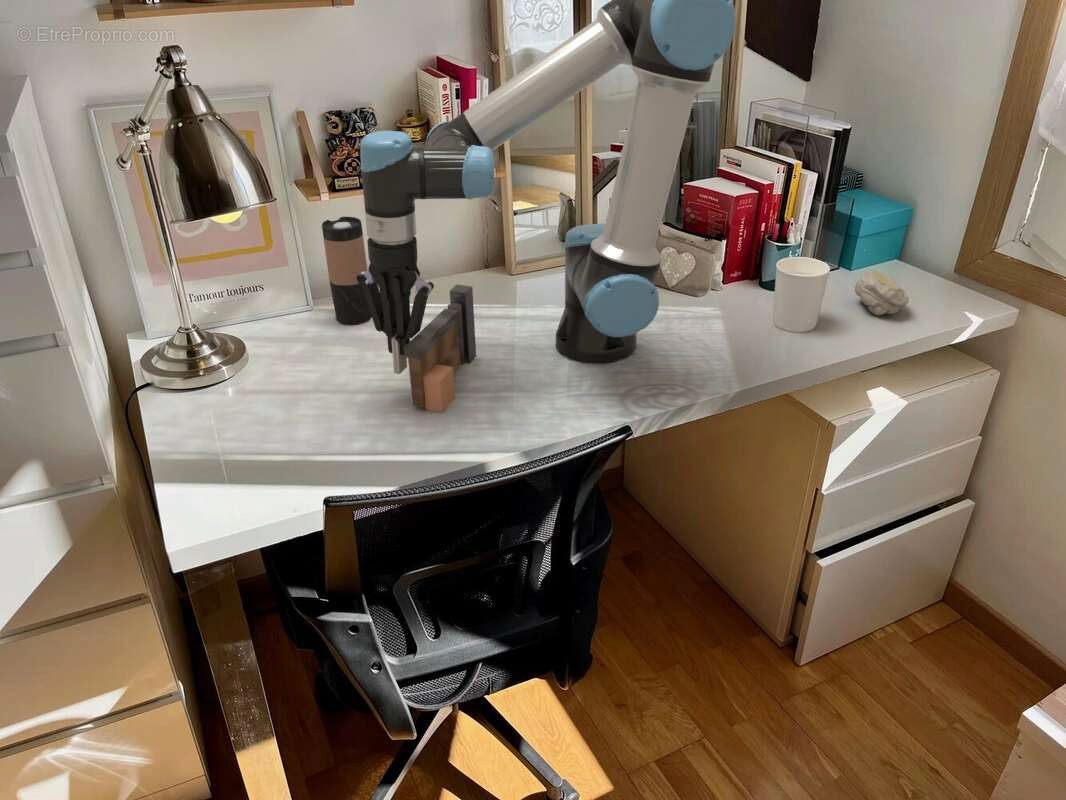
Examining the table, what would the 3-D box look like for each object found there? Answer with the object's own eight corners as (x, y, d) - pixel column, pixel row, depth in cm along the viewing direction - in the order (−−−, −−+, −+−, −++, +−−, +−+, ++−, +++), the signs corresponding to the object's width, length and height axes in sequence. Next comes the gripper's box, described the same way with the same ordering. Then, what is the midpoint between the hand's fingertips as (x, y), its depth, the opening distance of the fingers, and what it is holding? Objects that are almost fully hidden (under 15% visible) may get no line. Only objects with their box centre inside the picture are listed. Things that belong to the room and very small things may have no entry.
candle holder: (764, 329, 166) (772, 271, 160) (772, 310, 174) (780, 254, 168) (817, 337, 163) (827, 278, 157) (822, 317, 170) (832, 260, 164)
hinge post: (476, 356, 158) (472, 286, 151) (469, 364, 156) (465, 293, 149) (461, 354, 159) (456, 284, 152) (454, 361, 157) (449, 290, 150)
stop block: (455, 398, 145) (452, 367, 142) (442, 412, 141) (439, 381, 138) (439, 395, 146) (436, 364, 143) (426, 409, 142) (423, 378, 139)
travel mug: (365, 327, 170) (352, 230, 160) (329, 324, 171) (314, 228, 161) (378, 311, 176) (367, 217, 166) (343, 308, 178) (330, 215, 167)
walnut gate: (454, 358, 156) (450, 302, 150) (467, 360, 155) (464, 304, 149) (409, 406, 141) (403, 346, 136) (424, 409, 141) (418, 348, 135)
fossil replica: (874, 295, 180) (838, 308, 176) (877, 257, 176) (840, 270, 172) (921, 312, 170) (884, 326, 166) (925, 273, 166) (887, 287, 163)
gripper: (343, 238, 130) (356, 372, 143) (416, 251, 126) (423, 388, 139) (368, 222, 136) (379, 353, 149) (439, 234, 132) (444, 367, 145)
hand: (400, 370), depth 144 cm, fingers closed
